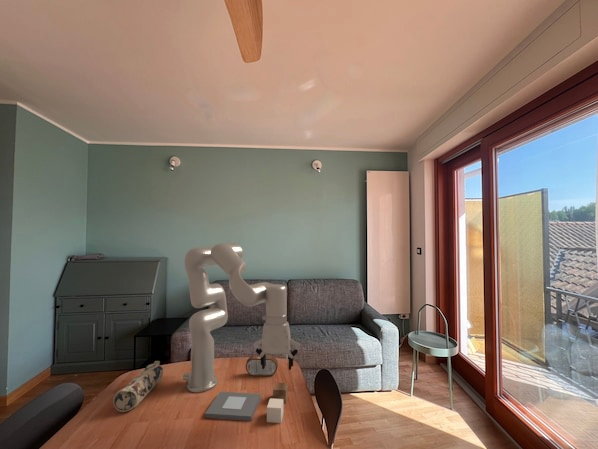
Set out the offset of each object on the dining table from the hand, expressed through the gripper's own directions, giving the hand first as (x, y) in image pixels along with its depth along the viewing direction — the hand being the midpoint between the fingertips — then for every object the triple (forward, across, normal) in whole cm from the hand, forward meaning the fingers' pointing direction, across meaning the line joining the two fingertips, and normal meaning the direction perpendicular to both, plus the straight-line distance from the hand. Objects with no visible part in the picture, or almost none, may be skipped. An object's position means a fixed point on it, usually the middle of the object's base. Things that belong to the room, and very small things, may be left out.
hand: (277, 367), depth 92 cm
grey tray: (+17, -17, +4) cm, 24 cm away
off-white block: (+17, -1, 0) cm, 17 cm away
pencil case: (+17, -58, +6) cm, 60 cm away
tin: (+17, -13, +27) cm, 34 cm away
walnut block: (+17, -1, +10) cm, 20 cm away
